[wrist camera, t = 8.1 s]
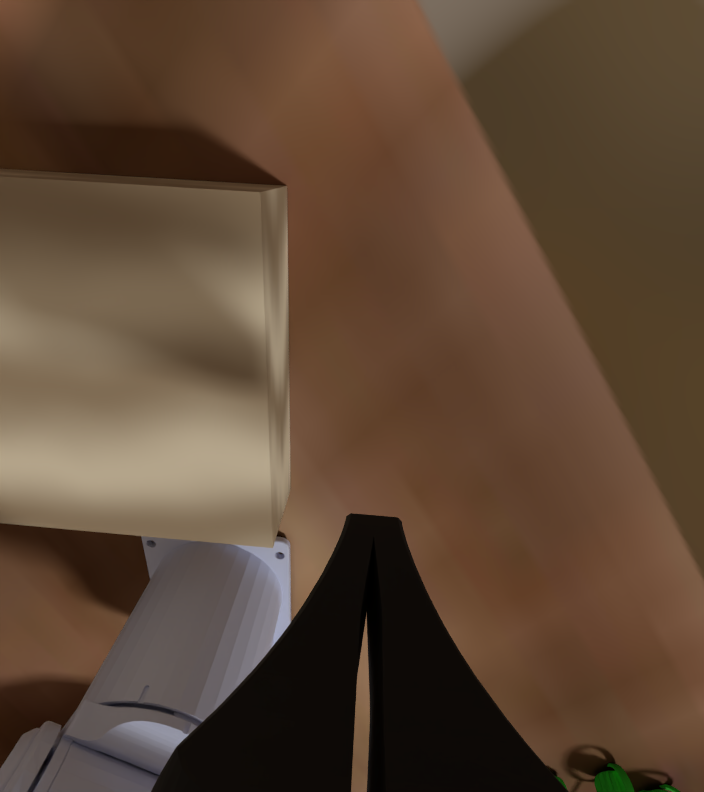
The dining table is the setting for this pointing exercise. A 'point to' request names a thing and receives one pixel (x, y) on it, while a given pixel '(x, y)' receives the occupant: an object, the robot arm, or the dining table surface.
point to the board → (144, 356)
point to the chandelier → (618, 782)
